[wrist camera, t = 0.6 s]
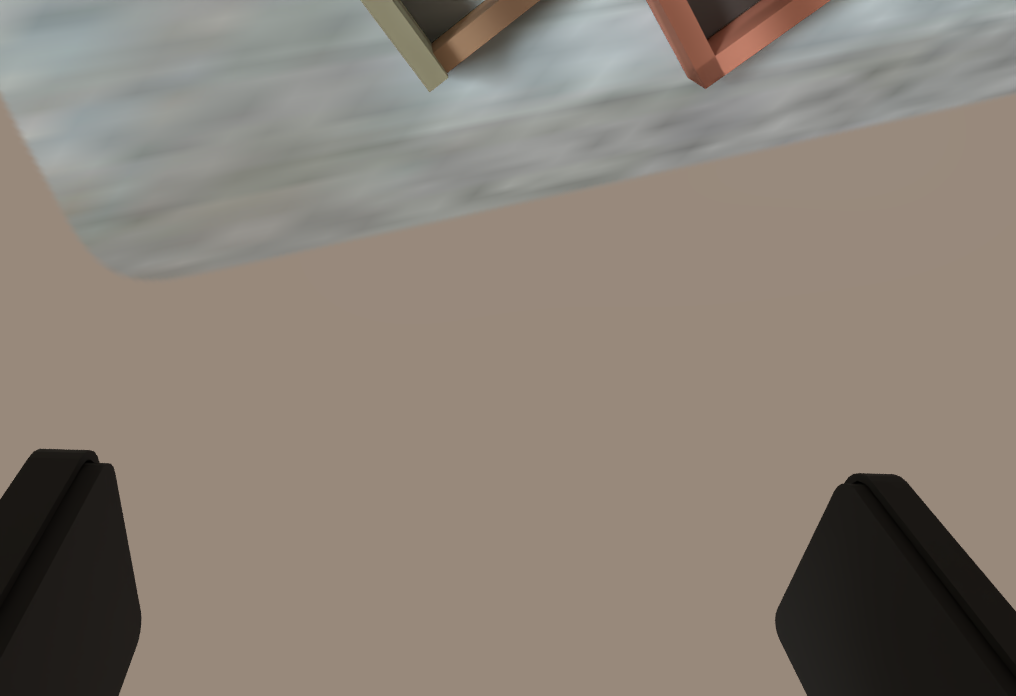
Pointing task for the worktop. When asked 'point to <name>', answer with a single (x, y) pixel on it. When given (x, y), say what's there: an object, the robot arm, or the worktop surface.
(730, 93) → the worktop surface
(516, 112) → the worktop surface
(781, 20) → the box
